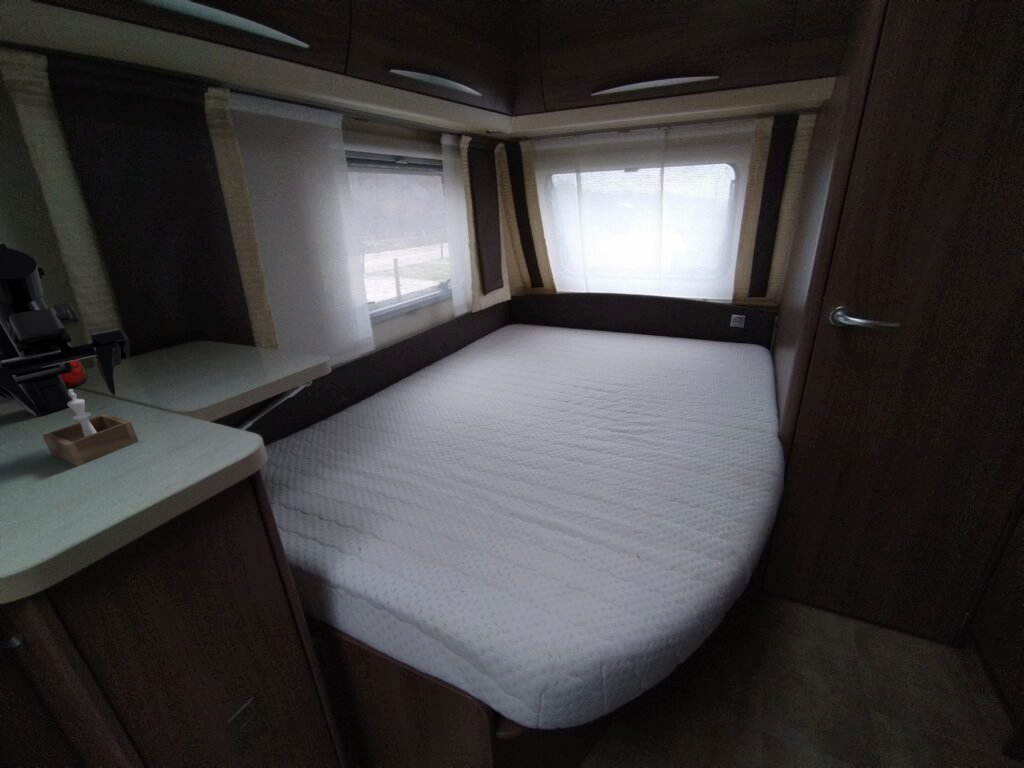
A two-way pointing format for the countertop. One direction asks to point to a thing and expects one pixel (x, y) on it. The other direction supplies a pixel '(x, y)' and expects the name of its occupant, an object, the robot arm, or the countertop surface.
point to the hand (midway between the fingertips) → (77, 403)
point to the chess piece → (81, 413)
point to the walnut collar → (90, 439)
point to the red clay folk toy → (75, 375)
